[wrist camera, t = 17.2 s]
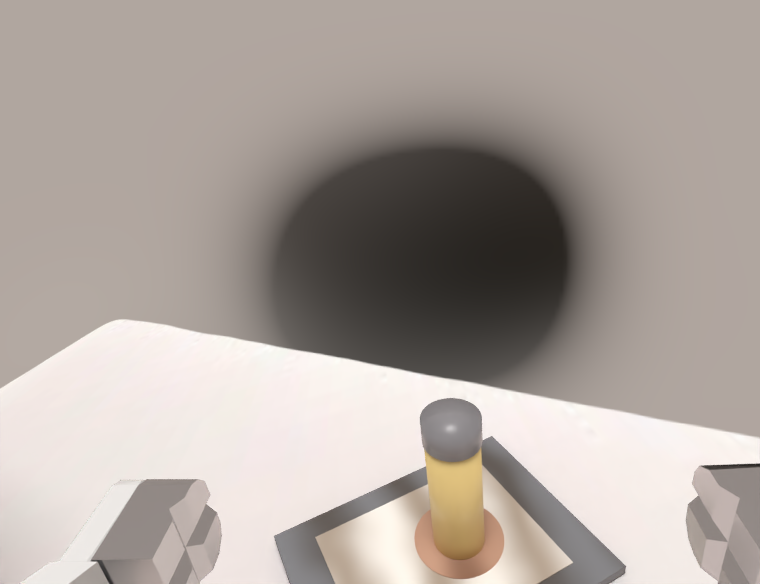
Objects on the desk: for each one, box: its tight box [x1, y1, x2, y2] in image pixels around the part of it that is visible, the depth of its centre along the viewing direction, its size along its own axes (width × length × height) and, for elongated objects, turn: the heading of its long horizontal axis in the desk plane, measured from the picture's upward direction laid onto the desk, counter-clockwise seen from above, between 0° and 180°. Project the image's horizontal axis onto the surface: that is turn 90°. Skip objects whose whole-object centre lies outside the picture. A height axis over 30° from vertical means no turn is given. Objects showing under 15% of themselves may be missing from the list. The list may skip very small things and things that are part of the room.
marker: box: [420, 398, 485, 560], centre depth 39 cm, size 4×4×12 cm
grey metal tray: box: [274, 436, 626, 584], centre depth 41 cm, size 22×16×1 cm
